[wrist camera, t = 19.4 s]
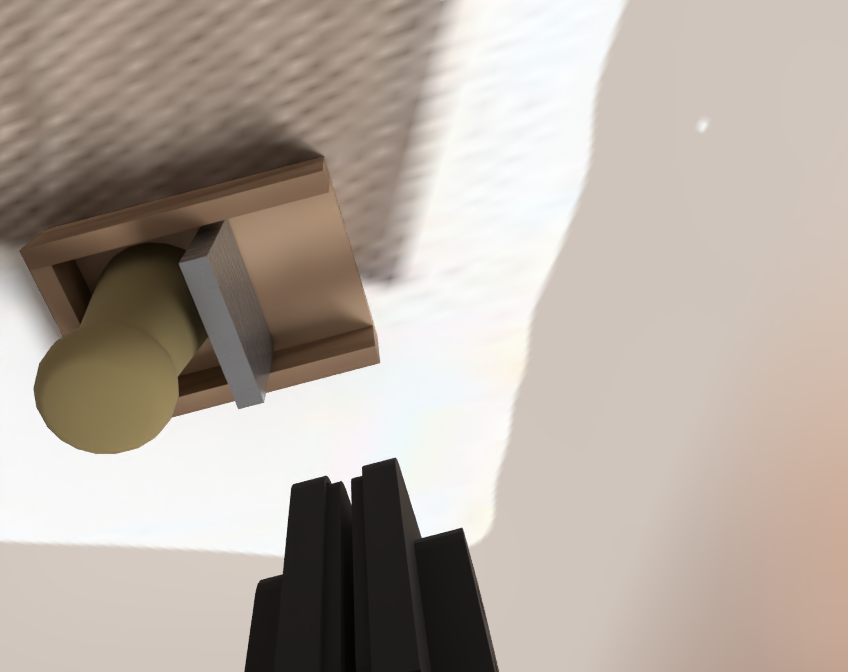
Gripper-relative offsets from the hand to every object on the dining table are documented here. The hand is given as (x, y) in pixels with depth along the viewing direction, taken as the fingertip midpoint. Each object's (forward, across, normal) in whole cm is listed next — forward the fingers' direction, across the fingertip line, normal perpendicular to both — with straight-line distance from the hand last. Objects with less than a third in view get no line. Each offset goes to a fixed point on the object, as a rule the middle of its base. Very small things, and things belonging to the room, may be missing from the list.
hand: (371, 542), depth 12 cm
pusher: (+27, +7, +4) cm, 28 cm away
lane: (+27, +8, +4) cm, 29 cm away
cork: (+26, +11, +4) cm, 29 cm away
